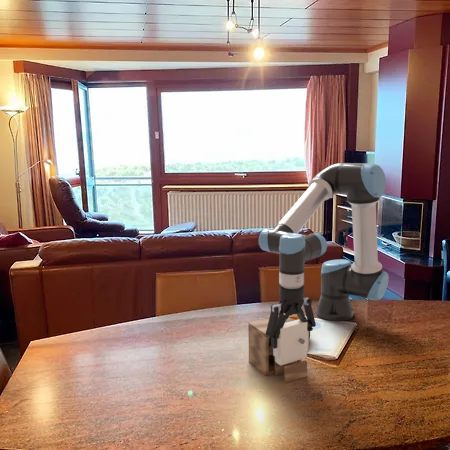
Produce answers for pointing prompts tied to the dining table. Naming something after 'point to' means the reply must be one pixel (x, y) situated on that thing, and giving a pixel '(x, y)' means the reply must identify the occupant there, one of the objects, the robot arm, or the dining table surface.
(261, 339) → the cabinet
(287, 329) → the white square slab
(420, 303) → the dining table surface
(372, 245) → the robot arm
